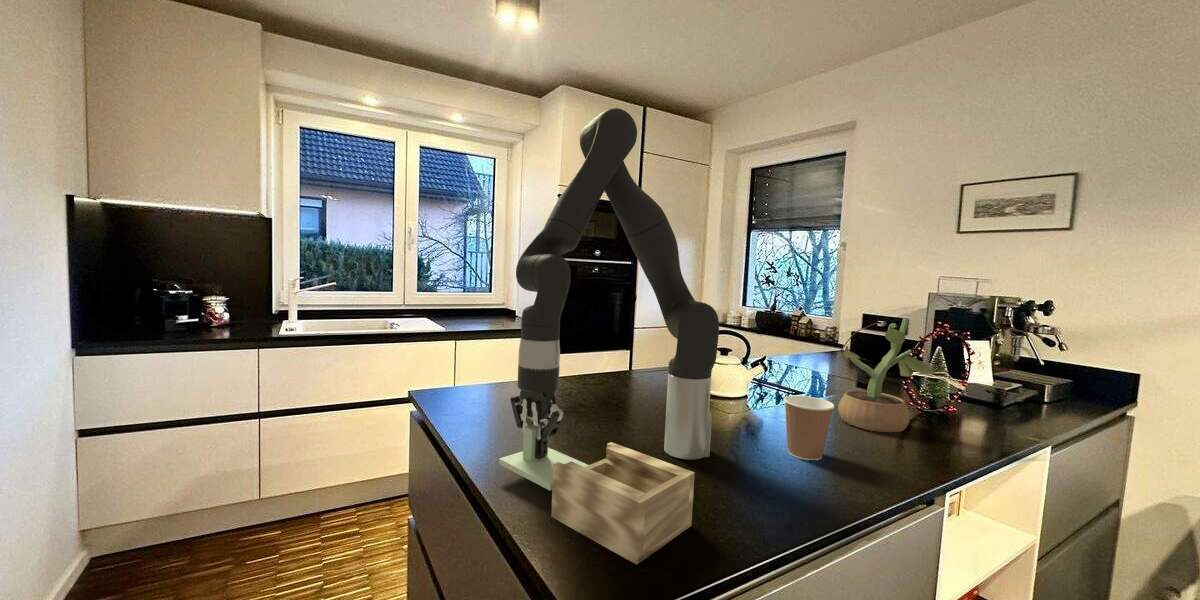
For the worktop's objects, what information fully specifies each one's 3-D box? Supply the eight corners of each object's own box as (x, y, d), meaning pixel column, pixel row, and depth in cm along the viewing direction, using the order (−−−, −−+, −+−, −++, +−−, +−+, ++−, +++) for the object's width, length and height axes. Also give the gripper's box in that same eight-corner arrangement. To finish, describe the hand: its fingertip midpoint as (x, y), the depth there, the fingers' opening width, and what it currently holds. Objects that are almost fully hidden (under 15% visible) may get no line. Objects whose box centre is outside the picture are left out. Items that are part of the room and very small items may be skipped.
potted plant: (820, 416, 136) (828, 311, 134) (870, 413, 141) (879, 312, 139) (889, 446, 114) (900, 321, 112) (945, 441, 120) (956, 322, 118)
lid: (593, 472, 86) (595, 434, 85) (550, 490, 78) (551, 448, 78) (542, 449, 95) (543, 415, 95) (498, 463, 88) (500, 426, 87)
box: (691, 525, 75) (694, 472, 74) (636, 564, 64) (639, 503, 64) (609, 488, 86) (611, 442, 85) (551, 516, 76) (553, 463, 75)
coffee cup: (830, 451, 109) (834, 399, 108) (830, 468, 100) (835, 411, 99) (781, 442, 113) (785, 393, 113) (778, 457, 104) (782, 403, 103)
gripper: (580, 367, 86) (576, 461, 87) (530, 354, 95) (527, 440, 96) (549, 372, 80) (544, 473, 81) (499, 358, 89) (496, 449, 91)
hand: (535, 454), depth 89 cm, fingers closed on lid, 2 cm apart
